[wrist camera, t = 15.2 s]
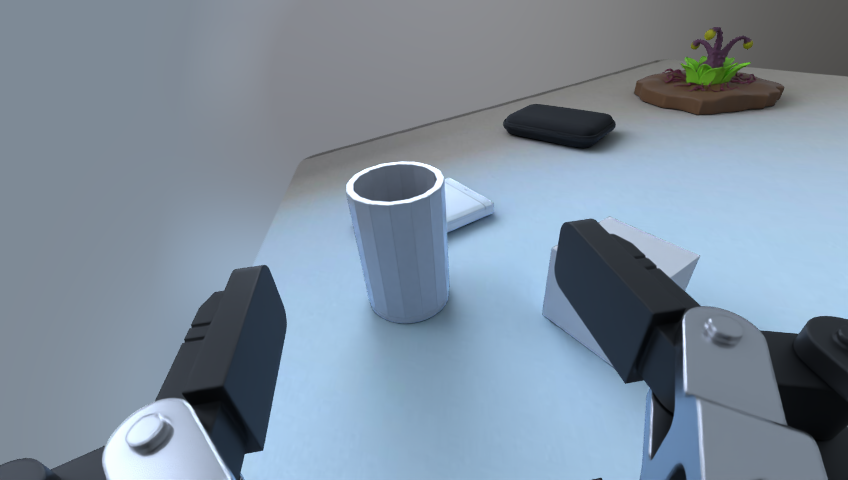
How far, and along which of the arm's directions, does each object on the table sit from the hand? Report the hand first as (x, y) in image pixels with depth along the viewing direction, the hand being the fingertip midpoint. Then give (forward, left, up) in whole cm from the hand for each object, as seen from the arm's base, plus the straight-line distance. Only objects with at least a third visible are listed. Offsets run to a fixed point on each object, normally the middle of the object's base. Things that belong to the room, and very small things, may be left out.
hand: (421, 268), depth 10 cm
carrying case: (+8, +52, -14) cm, 54 cm away
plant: (+33, +71, -14) cm, 80 cm away
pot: (-5, +13, -14) cm, 20 cm away
